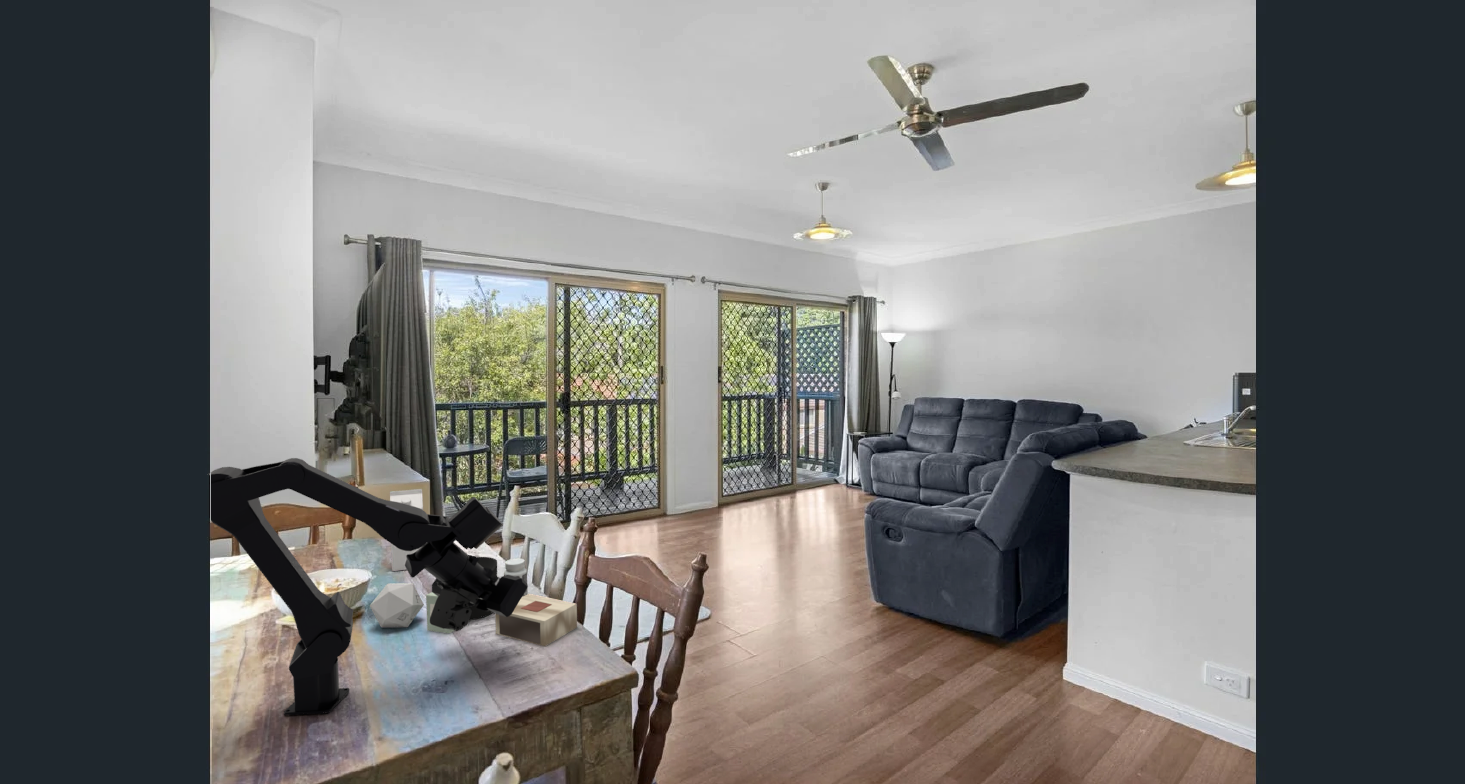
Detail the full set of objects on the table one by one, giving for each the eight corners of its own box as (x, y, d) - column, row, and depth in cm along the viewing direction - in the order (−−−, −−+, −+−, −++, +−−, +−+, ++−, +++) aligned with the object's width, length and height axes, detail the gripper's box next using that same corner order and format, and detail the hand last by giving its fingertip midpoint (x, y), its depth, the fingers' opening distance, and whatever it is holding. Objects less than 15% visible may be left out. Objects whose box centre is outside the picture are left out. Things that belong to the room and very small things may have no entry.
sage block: (449, 633, 124) (448, 597, 124) (426, 630, 126) (425, 595, 125) (466, 622, 129) (465, 588, 129) (445, 620, 130) (444, 585, 130)
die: (388, 641, 123) (421, 595, 125) (352, 616, 124) (385, 570, 126) (408, 638, 130) (439, 595, 133) (374, 614, 132) (405, 572, 134)
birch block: (544, 620, 119) (576, 603, 127) (495, 609, 124) (529, 593, 132) (544, 648, 119) (577, 628, 127) (495, 635, 124) (529, 617, 132)
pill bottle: (519, 593, 145) (518, 556, 144) (532, 598, 142) (531, 560, 141) (500, 600, 141) (499, 561, 140) (512, 605, 138) (511, 566, 137)
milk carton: (393, 563, 165) (390, 488, 164) (424, 559, 168) (422, 486, 167) (392, 572, 159) (389, 494, 157) (424, 567, 162) (421, 491, 160)
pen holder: (503, 614, 133) (501, 566, 132) (453, 625, 128) (451, 575, 127) (493, 599, 141) (491, 554, 140) (445, 608, 136) (444, 561, 135)
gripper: (385, 599, 108) (445, 640, 118) (459, 623, 99) (517, 665, 109) (428, 541, 115) (481, 585, 125) (501, 558, 105) (552, 604, 116)
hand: (506, 609), depth 118 cm, fingers closed
